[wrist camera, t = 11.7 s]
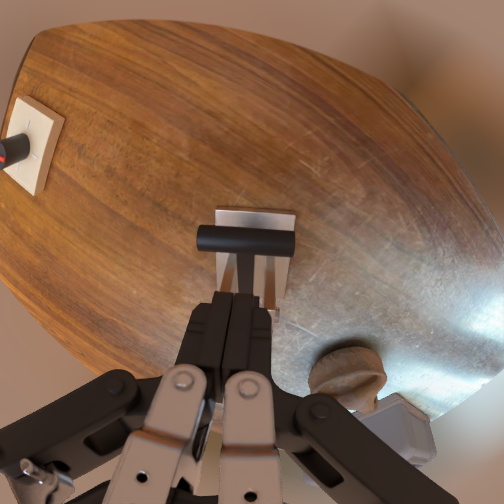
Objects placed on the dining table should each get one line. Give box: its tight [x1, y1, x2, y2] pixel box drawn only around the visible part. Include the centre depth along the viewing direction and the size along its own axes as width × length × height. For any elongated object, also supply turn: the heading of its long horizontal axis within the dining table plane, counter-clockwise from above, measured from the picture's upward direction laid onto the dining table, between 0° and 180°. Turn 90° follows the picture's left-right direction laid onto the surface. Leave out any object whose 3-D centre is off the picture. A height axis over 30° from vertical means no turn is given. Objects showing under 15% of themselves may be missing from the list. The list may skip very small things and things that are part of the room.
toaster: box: [303, 393, 436, 486], centre depth 55 cm, size 30×36×18 cm
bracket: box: [215, 206, 295, 340], centre depth 29 cm, size 12×9×13 cm
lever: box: [197, 225, 295, 308], centre depth 21 cm, size 13×6×2 cm, turn 178°
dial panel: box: [3, 96, 65, 196], centre depth 26 cm, size 12×10×3 cm
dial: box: [0, 133, 30, 170], centre depth 23 cm, size 4×4×5 cm
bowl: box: [308, 347, 387, 414], centre depth 41 cm, size 18×14×10 cm
